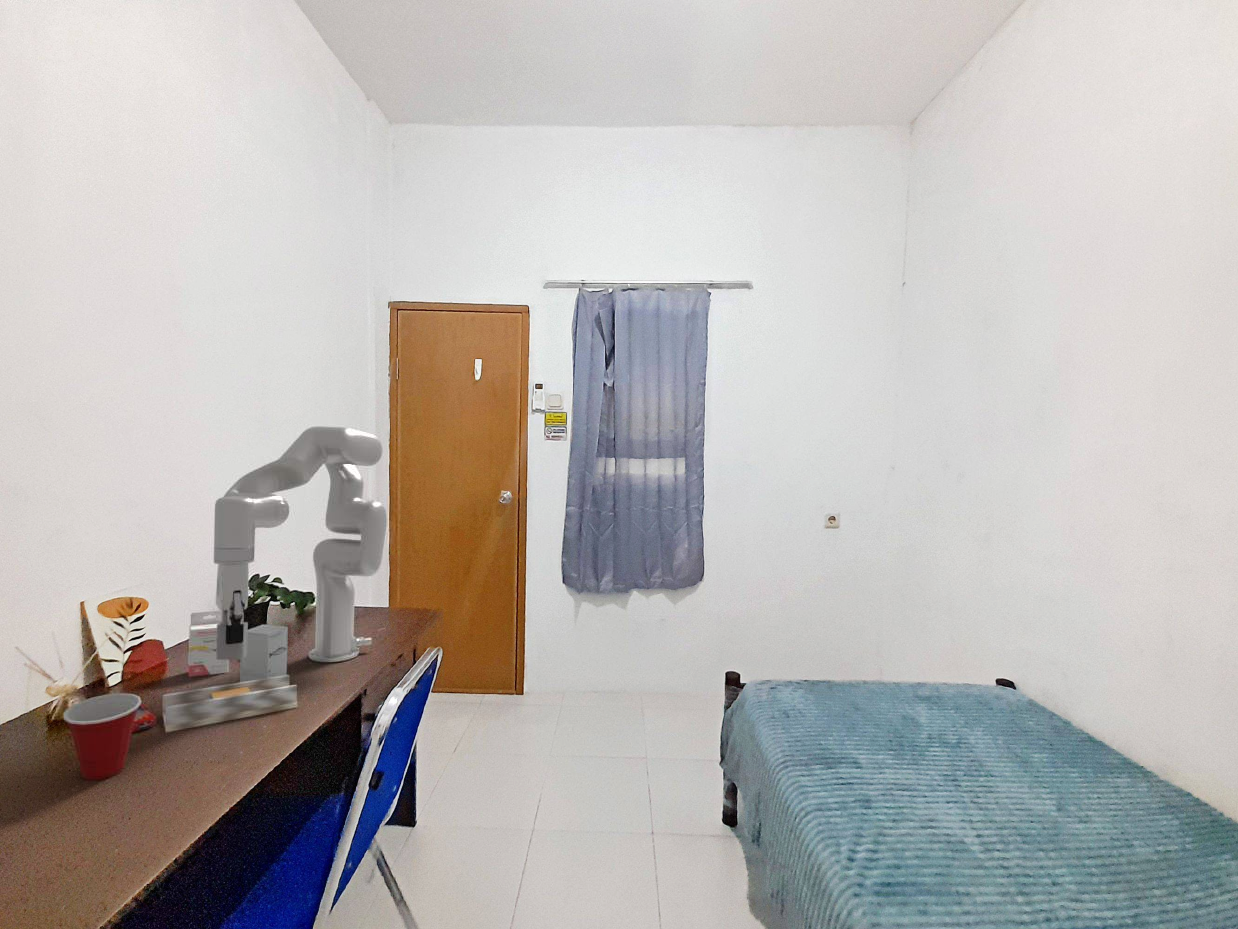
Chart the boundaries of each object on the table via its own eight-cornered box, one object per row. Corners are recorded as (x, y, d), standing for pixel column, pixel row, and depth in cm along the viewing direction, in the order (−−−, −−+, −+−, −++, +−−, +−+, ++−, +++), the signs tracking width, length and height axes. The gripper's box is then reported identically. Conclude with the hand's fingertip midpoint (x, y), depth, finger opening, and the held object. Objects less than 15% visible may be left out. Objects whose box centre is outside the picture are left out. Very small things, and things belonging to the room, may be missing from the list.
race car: (160, 728, 137) (160, 708, 137) (129, 737, 132) (130, 717, 132) (128, 712, 144) (128, 693, 144) (98, 720, 139) (98, 701, 139)
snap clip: (247, 692, 150) (247, 686, 150) (252, 700, 146) (252, 695, 145) (210, 698, 146) (210, 693, 146) (214, 707, 141) (214, 701, 141)
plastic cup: (45, 789, 112) (46, 717, 112) (89, 758, 123) (89, 693, 122) (116, 788, 113) (117, 717, 113) (153, 758, 124) (154, 693, 124)
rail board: (287, 692, 157) (287, 673, 157) (297, 707, 149) (297, 687, 149) (162, 715, 142) (162, 693, 142) (165, 732, 134) (166, 709, 134)
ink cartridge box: (188, 678, 164) (189, 617, 163) (188, 671, 168) (189, 612, 167) (229, 672, 168) (230, 613, 168) (228, 666, 173) (229, 609, 172)
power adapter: (221, 654, 146) (223, 599, 146) (248, 655, 147) (249, 599, 147) (214, 659, 143) (216, 602, 143) (241, 659, 144) (243, 603, 144)
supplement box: (266, 687, 160) (267, 634, 159) (238, 684, 161) (240, 631, 161) (287, 677, 167) (288, 626, 166) (261, 674, 168) (262, 623, 168)
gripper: (208, 550, 149) (206, 632, 150) (219, 562, 135) (217, 653, 136) (247, 548, 154) (245, 628, 154) (261, 560, 140) (259, 647, 141)
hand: (232, 638), depth 145 cm, fingers closed on power adapter, 4 cm apart
